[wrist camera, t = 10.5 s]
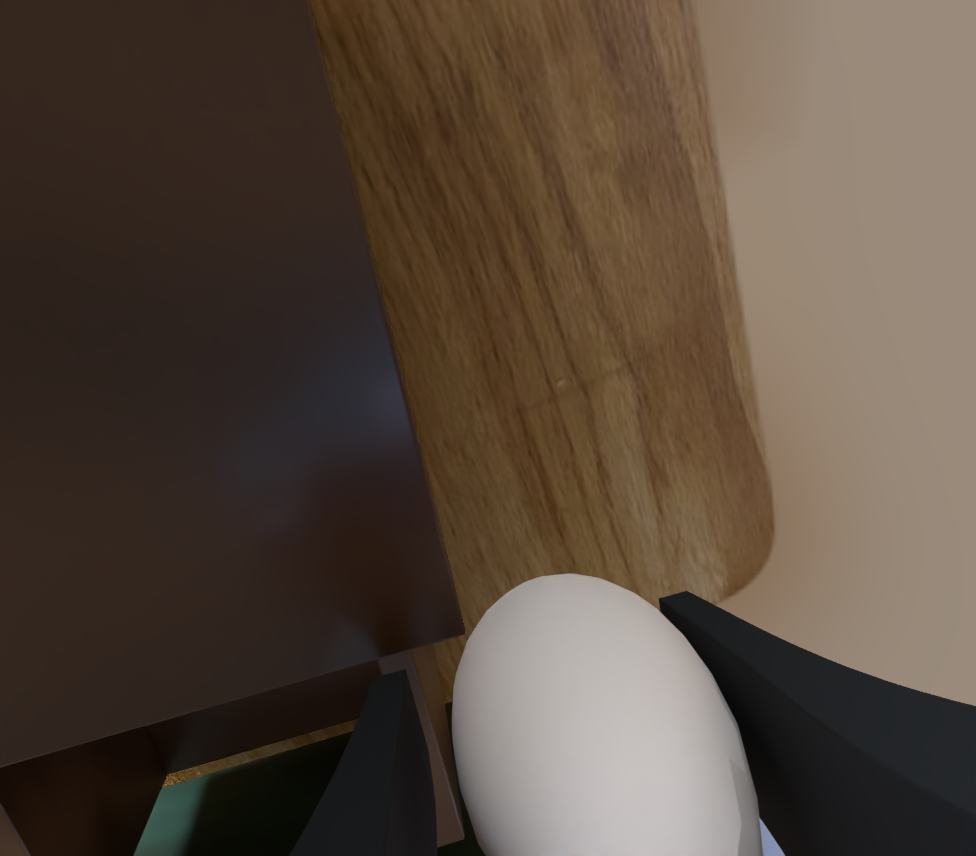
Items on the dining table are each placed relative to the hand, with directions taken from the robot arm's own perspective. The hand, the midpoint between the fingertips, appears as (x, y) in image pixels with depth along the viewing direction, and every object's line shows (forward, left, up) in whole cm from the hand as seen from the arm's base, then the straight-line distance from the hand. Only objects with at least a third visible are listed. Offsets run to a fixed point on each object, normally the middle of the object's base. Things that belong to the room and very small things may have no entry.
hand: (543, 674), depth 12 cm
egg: (0, 0, -2) cm, 2 cm away
